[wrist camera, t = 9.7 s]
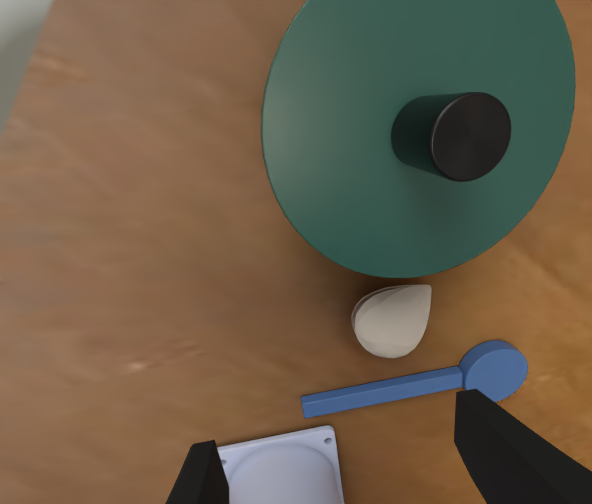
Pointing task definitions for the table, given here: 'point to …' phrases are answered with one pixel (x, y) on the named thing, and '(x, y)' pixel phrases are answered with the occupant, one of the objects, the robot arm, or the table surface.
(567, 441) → the table surface
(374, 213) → the saucepan lid
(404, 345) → the cream teardrop shape
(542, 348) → the table surface
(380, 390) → the blue spoon
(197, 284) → the table surface
